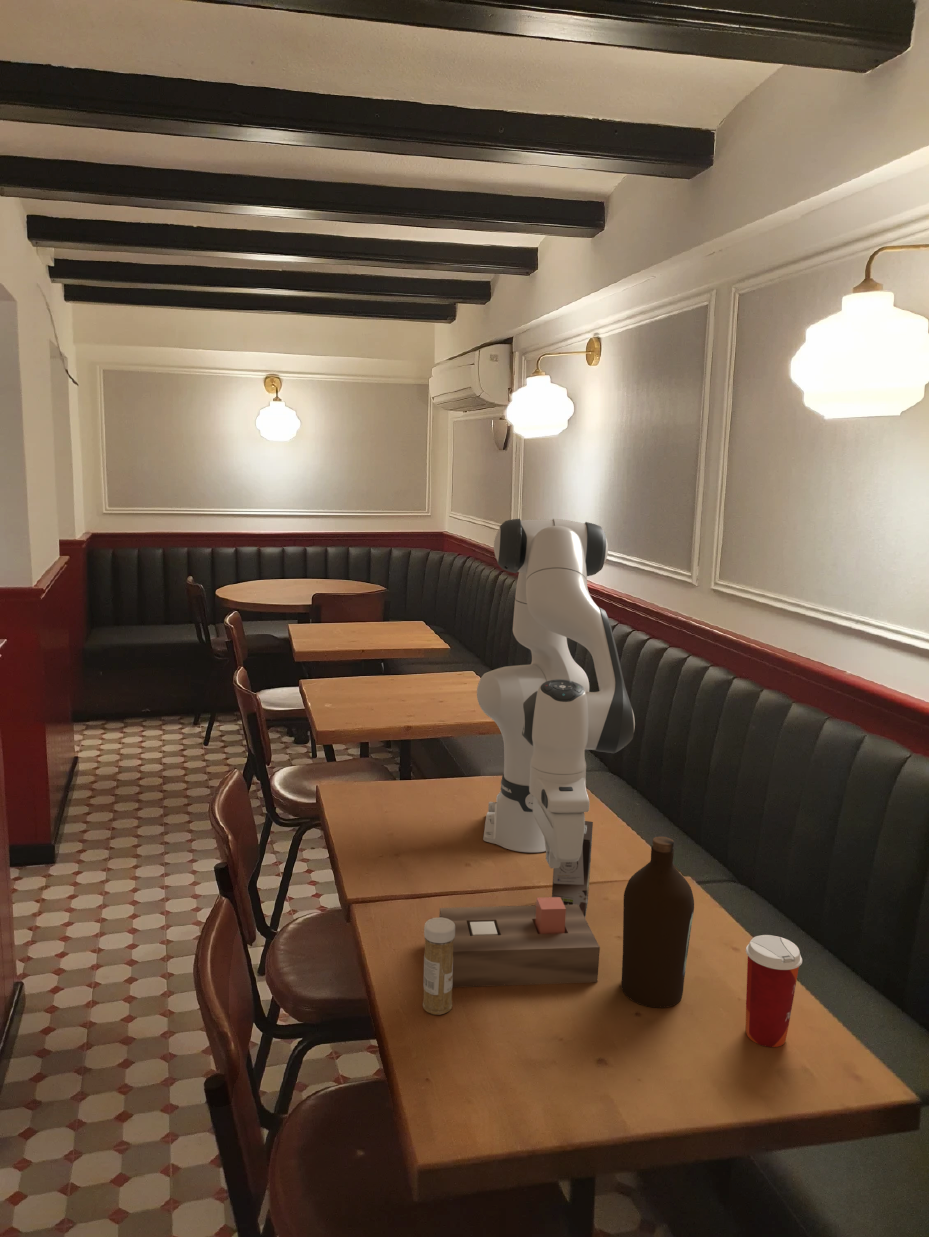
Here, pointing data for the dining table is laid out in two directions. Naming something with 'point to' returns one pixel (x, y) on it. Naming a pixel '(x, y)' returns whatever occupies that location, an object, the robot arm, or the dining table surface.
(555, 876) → the coffee box
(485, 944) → the socket block
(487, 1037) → the dining table surface
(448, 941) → the spice jar
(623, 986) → the olive oil
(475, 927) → the white plug
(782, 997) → the paper cup
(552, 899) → the red plug
